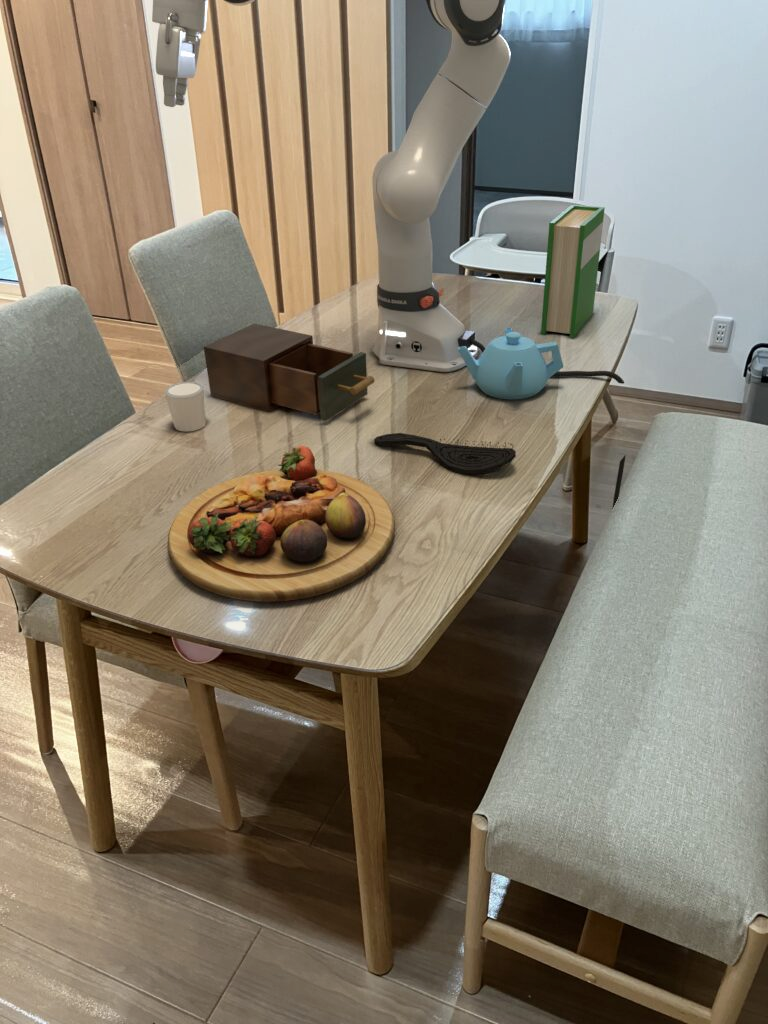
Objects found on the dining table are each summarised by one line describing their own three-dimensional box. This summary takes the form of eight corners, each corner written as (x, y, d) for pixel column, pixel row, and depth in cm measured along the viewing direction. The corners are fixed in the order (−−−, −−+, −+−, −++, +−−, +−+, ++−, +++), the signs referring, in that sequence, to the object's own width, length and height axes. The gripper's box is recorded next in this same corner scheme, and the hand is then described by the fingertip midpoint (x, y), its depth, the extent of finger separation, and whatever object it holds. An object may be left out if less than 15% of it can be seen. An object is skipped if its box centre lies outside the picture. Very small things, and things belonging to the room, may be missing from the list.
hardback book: (573, 338, 181) (584, 225, 168) (540, 334, 184) (549, 222, 171) (592, 313, 195) (604, 207, 182) (562, 309, 197) (571, 204, 185)
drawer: (386, 398, 155) (385, 357, 150) (345, 426, 145) (343, 382, 141) (310, 380, 163) (307, 340, 159) (267, 405, 154) (262, 363, 149)
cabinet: (316, 384, 164) (312, 335, 158) (269, 412, 153) (263, 360, 148) (259, 370, 171) (254, 323, 165) (210, 396, 160) (203, 346, 155)
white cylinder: (216, 419, 151) (211, 384, 148) (194, 435, 146) (188, 399, 142) (186, 413, 154) (180, 378, 150) (163, 429, 149) (156, 393, 145)
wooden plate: (244, 466, 136) (238, 421, 132) (426, 501, 125) (426, 452, 121) (122, 575, 111) (109, 523, 107) (336, 630, 100) (332, 575, 96)
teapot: (514, 411, 151) (518, 355, 145) (454, 388, 160) (455, 335, 155) (565, 387, 159) (571, 333, 154) (505, 366, 169) (508, 315, 163)
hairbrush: (385, 417, 144) (523, 438, 133) (386, 436, 146) (522, 458, 135) (362, 437, 137) (505, 460, 127) (364, 457, 139) (505, 481, 129)
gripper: (189, 15, 131) (183, 111, 137) (206, 23, 149) (200, 107, 155) (148, 7, 130) (144, 103, 136) (170, 16, 148) (166, 101, 154)
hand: (174, 105), depth 146 cm, fingers open, 8 cm apart
